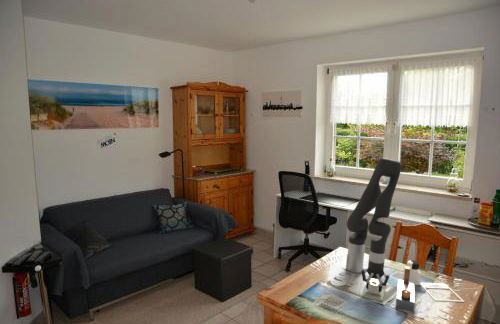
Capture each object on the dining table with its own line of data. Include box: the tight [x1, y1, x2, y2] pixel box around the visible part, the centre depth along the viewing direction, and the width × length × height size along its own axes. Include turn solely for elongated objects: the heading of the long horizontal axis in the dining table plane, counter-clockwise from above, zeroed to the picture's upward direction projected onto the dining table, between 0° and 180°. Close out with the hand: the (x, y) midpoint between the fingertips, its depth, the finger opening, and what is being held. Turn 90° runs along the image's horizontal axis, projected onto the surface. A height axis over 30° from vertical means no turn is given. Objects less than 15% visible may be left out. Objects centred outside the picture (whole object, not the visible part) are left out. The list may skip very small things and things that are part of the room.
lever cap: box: [368, 278, 379, 294], centre depth 179 cm, size 8×5×5 cm, turn 155°
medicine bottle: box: [402, 259, 423, 286], centre depth 193 cm, size 7×7×12 cm
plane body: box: [395, 265, 416, 313], centre depth 174 cm, size 22×8×13 cm, turn 155°
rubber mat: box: [361, 284, 385, 303], centre depth 179 cm, size 10×12×1 cm
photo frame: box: [419, 282, 465, 303], centre depth 183 cm, size 15×1×18 cm
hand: (373, 290), depth 179 cm, fingers closed on lever cap, 5 cm apart
